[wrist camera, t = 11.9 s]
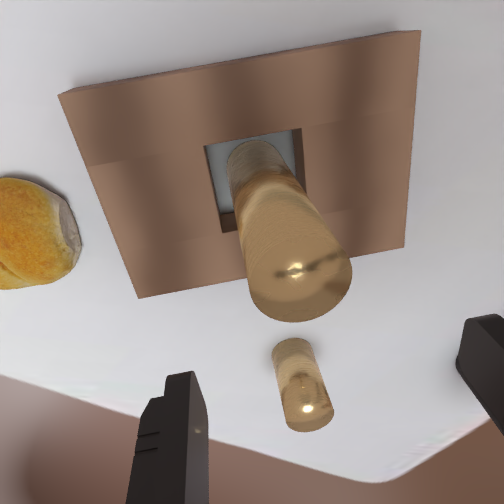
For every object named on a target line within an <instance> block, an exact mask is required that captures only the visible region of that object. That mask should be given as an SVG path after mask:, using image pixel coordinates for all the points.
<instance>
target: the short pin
mask: <svg viewBox="0 0 504 504" xmlns="http://www.w3.org/2000/svg"><path fill="white" fill-rule="evenodd" d="M272 361H273V365H274V369H275V374H276V378H277V383H278V387H279V392H280V396H281V401H282V405H283V410H284V414H285V419H286V423H287V425H288V427H289V428H291V429H292V430H294V431H298V432H310V431H315V430H318V429H320V428H322V427H324V426H325V425H327V424H328V423H329V422H330V421H331V420H332V418H333V416H334V409H333V407H332V404H331V401H330V398H329V395H328V393H327V390H326V387H325V384H324V381H323V379H322V376H321V373H320V370H319V367H318V365H317V362H316V359H315V356H314V353H313V351H312V348H311V345H310V344H309V343H308V342H307V341H305V340H303V339H300V338H291V339H287V340H284V341H282V342H280V343H279V344H278V345H276V347H275V348H274V349H273V351H272Z"/></svg>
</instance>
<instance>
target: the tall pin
mask: <svg viewBox="0 0 504 504" xmlns="http://www.w3.org/2000/svg"><path fill="white" fill-rule="evenodd" d="M227 176H228V181H229V187H230V192H231V197H232V202H233V207H234V212H235V218H236V223H237V228H238V233H239V238H240V244H241V249H242V254H243V259H244V264H245V269H246V275H247V280H248V285H249V290H250V294H251V298H252V300H253V302H254V304H255V305H256V307H257V308H258V309H259V310H260V311H261V312H262V313H264V314H265V315H267V316H268V317H270V318H273V319H275V320H278V321H283V322H304V321H308V320H312V319H315V318H317V317H320V316H322V315H324V314H325V313H327V312H329V311H330V310H331V309H333V308H334V307H335V306H336V305H337V304H338V303H339V302H340V301H341V300H342V299H343V297H344V296H345V295H346V293H347V291H348V289H349V286H350V284H351V279H352V266H351V262H350V260H349V257H348V255H347V254H346V252H345V251H344V249H343V248H342V246H341V245H340V244H339V242H338V241H337V239H336V238H335V236H334V235H333V233H332V232H331V230H330V229H329V227H328V226H327V224H326V223H325V221H324V220H323V218H322V217H321V215H320V214H319V212H318V211H317V209H316V208H315V206H314V205H313V203H312V202H311V200H310V199H309V197H308V196H307V194H306V193H305V191H304V190H303V188H302V187H301V185H300V184H299V182H298V181H297V179H296V178H295V176H294V175H293V173H292V172H291V170H290V169H289V168H288V166H287V165H286V163H285V162H284V160H283V159H282V157H281V156H280V154H279V153H278V151H277V150H276V149H275V148H274V147H273V146H272V145H270V144H269V143H267V142H264V141H259V140H252V141H247V142H245V143H242V144H241V145H239V146H238V147H237V148H235V149H234V151H233V152H232V153H231V155H230V157H229V159H228V162H227Z"/></svg>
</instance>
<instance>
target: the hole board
mask: <svg viewBox="0 0 504 504" xmlns="http://www.w3.org/2000/svg"><path fill="white" fill-rule="evenodd" d="M420 38H421V30H414V31H393V32H387V33H382V34H376V35H371V36H365V37H359V38H354V39H348V40H342V41H337V42H331V43H326V44H320V45H314V46H309V47H303V48H297V49H292V50H286V51H281V52H275V53H269V54H264V55H258V56H252V57H247V58H241V59H235V60H230V61H224V62H219V63H213V64H207V65H202V66H196V67H190V68H185V69H179V70H174V71H168V72H162V73H157V74H151V75H145V76H140V77H134V78H128V79H123V80H117V81H112V82H106V83H100V84H95V85H89V86H83V87H78V88H73V89H71V90H68V91H66V92H63V93H61V94H59V95H57V96H58V98H59V101H60V103H61V106H62V108H63V111H64V113H65V116H66V118H67V121H68V123H69V126H70V128H71V131H72V133H73V136H74V138H75V141H76V143H77V146H78V148H79V151H80V153H81V156H82V158H83V161H84V163H85V166H86V168H87V171H88V173H89V176H90V178H91V181H92V184H93V186H94V189H95V191H96V194H97V196H98V199H99V201H100V204H101V206H102V209H103V211H104V214H105V216H106V219H107V221H108V224H109V226H110V229H111V231H112V234H113V236H114V239H115V241H116V244H117V246H118V249H119V251H120V254H121V256H122V259H123V261H124V264H125V266H126V269H127V271H128V274H129V277H130V279H131V282H132V284H133V287H134V289H135V292H136V294H137V297H138V299H141V298H146V297H151V296H156V295H161V294H166V293H172V292H177V291H182V290H187V289H192V288H197V287H202V286H208V285H213V284H218V283H223V282H228V281H233V280H238V279H244V278H247V275H246V269H245V264H244V259H243V254H242V249H241V244H240V238H239V233H238V228H237V223H236V218H235V212H233V213H228V214H223V215H220V212H219V207H218V203H217V198H216V193H215V189H214V184H213V179H212V175H211V170H210V165H209V161H208V156H207V152H206V147H205V145H210V144H216V143H221V142H227V141H232V140H237V139H243V138H248V137H254V136H259V135H265V134H270V133H276V132H281V131H286V130H292V134H293V145H294V156H295V167H296V178H297V181H298V182H299V184H300V185H301V187H302V188H303V190H304V191H305V193H306V194H307V196H308V197H309V199H310V200H311V202H312V203H313V205H314V206H315V208H316V209H317V211H318V212H319V214H320V215H321V217H322V218H323V220H324V221H325V223H326V224H327V226H328V227H329V229H330V230H331V232H332V233H333V235H334V236H335V238H336V239H337V241H338V242H339V244H340V245H341V246H342V248H343V249H344V251H345V252H346V254H347V255H348V257H349V258H352V257H357V256H362V255H367V254H372V253H378V252H383V251H388V250H393V249H398V248H403V247H404V239H405V227H406V214H407V202H408V189H409V176H410V164H411V151H412V139H413V126H414V114H415V101H416V88H417V76H418V63H419V51H420Z"/></svg>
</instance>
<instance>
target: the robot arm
mask: <svg viewBox="0 0 504 504" xmlns="http://www.w3.org/2000/svg"><path fill="white" fill-rule="evenodd" d="M458 359H459V364H460V367H461V370H462V372H463V374H464V375H465V377H466V378H467V379H468V381H469V382H470V383H471V385H472V386H473V387H474V389H475V390H476V391H477V392H478V394H479V395H480V396H481V398H482V399H483V400H484V402H485V403H486V404H487V406H488V407H489V408H490V410H491V411H492V412H493V413H494V415H495V416H496V417H497V419H498V420H499V421H500V423H501V424H502V425H503V427H504V319H503V318H502V317H501V316H499V315H497V314H490V315H484V316H479V317H474V318H469V319H467V320H466V321H465V324H464V329H463V334H462V339H461V344H460V349H459V354H458ZM137 436H138V439H137V441H136V447H135V456H134V458H133V464H132V470H131V475H130V482H129V487H128V493H127V499H126V504H209V492H208V491H209V490H208V489H209V485H208V484H209V481H208V480H209V476H208V415H207V409H206V404H205V401H204V398H203V395H202V392H201V390H200V387H199V384H198V381H197V378H196V375H195V373H194V371H188V372H183V373H178V374H173V375H168V376H167V378H166V382H165V391H164V396H162V397H156V398H151V399H150V401H149V403H148V405H147V406H146V408H145V410H144V412H143V413H142V415H141V418H140V424H139V429H138V435H137Z"/></svg>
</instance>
